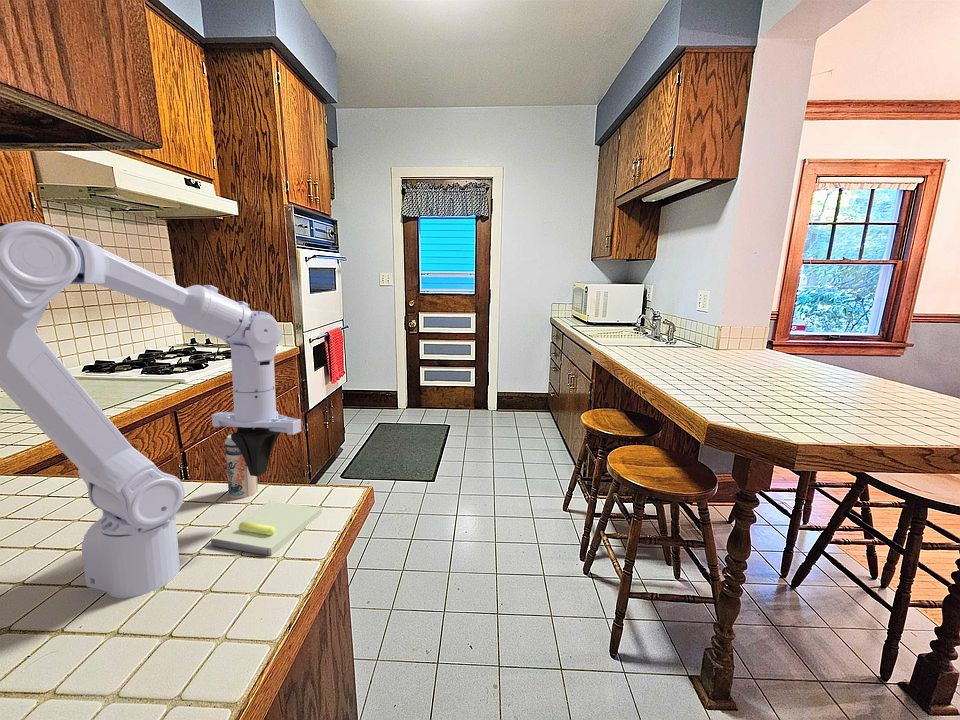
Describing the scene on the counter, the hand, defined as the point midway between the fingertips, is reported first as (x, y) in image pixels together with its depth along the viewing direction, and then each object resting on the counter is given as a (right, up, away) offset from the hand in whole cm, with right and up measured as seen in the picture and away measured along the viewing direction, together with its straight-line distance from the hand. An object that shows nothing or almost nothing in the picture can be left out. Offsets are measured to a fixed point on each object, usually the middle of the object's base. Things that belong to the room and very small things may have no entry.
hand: (258, 473), depth 66 cm
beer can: (-8, -8, +11) cm, 16 cm away
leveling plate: (+2, -8, -1) cm, 9 cm away
